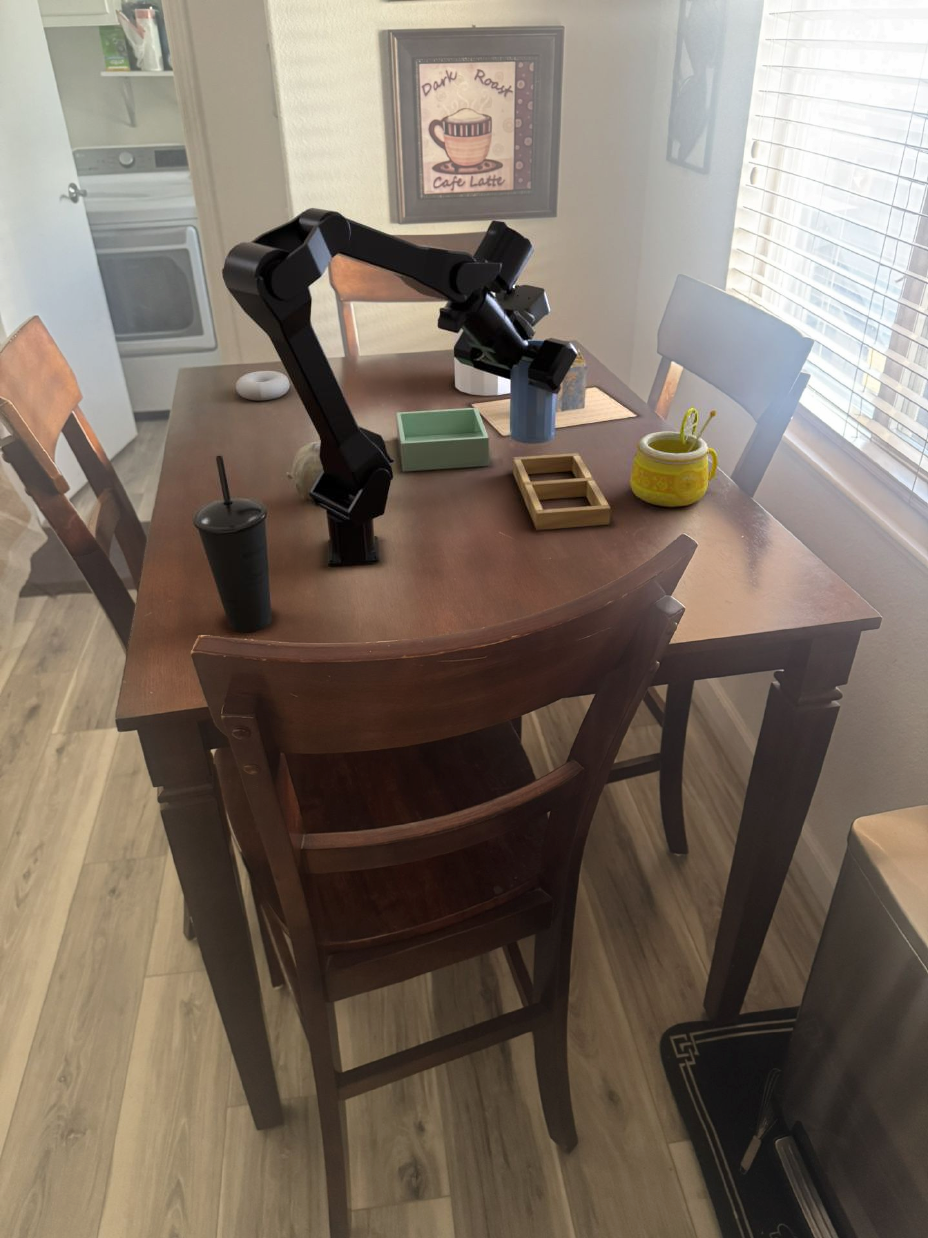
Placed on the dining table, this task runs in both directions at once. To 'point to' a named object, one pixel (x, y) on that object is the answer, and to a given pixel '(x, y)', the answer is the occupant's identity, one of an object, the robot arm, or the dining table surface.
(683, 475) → the mug
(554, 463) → the wooden rectangular frame
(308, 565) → the dining table surface
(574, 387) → the architectural model on board
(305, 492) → the garlic bulb
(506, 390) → the container
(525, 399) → the tumbler
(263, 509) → the drinking cup
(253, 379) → the donut
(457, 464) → the basin
